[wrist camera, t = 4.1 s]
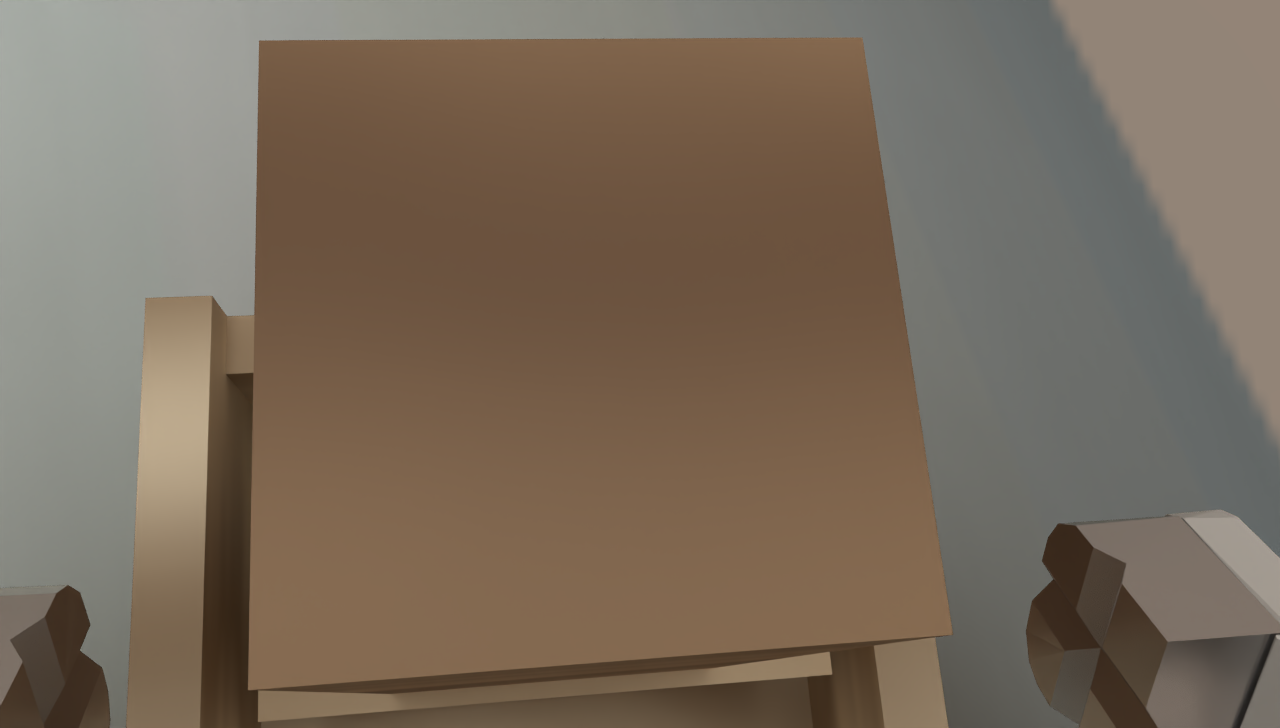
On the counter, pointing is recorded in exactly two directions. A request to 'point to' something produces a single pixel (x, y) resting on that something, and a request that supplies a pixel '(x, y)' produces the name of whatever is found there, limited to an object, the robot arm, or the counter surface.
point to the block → (576, 365)
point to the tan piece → (405, 722)
